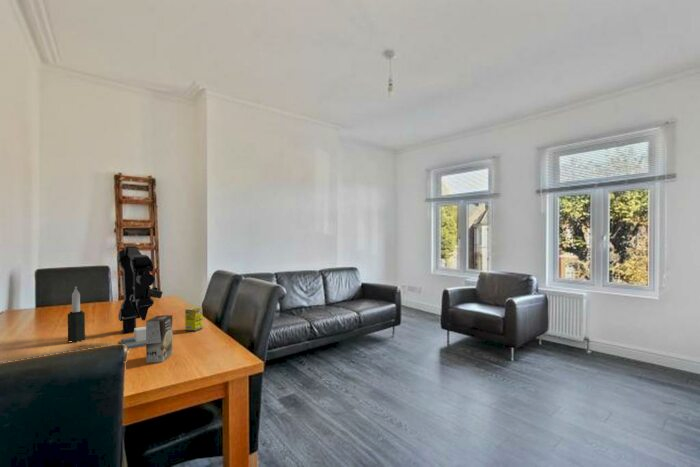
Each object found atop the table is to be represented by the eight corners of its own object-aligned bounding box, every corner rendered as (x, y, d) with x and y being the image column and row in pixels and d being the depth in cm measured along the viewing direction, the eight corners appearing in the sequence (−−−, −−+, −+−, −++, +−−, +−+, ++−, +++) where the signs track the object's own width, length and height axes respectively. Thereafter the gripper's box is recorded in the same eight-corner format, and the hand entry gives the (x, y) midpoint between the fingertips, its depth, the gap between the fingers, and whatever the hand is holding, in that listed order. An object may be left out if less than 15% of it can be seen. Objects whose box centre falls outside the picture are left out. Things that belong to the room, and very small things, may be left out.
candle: (86, 339, 163) (85, 285, 162) (74, 343, 158) (73, 287, 158) (78, 338, 164) (77, 285, 164) (66, 342, 159) (65, 287, 159)
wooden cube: (134, 339, 159) (134, 328, 159) (146, 336, 163) (146, 326, 163) (136, 341, 156) (136, 330, 156) (149, 339, 159) (149, 328, 159)
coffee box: (163, 362, 134) (162, 320, 134) (145, 363, 134) (145, 321, 134) (173, 354, 144) (172, 314, 143) (156, 354, 143) (156, 315, 143)
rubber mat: (120, 341, 160) (120, 338, 160) (155, 335, 169) (155, 332, 169) (126, 349, 149) (126, 346, 149) (162, 342, 158) (162, 339, 158)
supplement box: (195, 331, 174) (195, 310, 174) (184, 331, 176) (184, 309, 176) (202, 328, 180) (202, 307, 180) (192, 328, 181) (192, 306, 181)
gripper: (166, 284, 157) (166, 319, 157) (155, 280, 171) (156, 312, 171) (137, 287, 150) (137, 323, 150) (129, 282, 164) (129, 315, 164)
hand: (141, 318), depth 159 cm, fingers open, 9 cm apart
